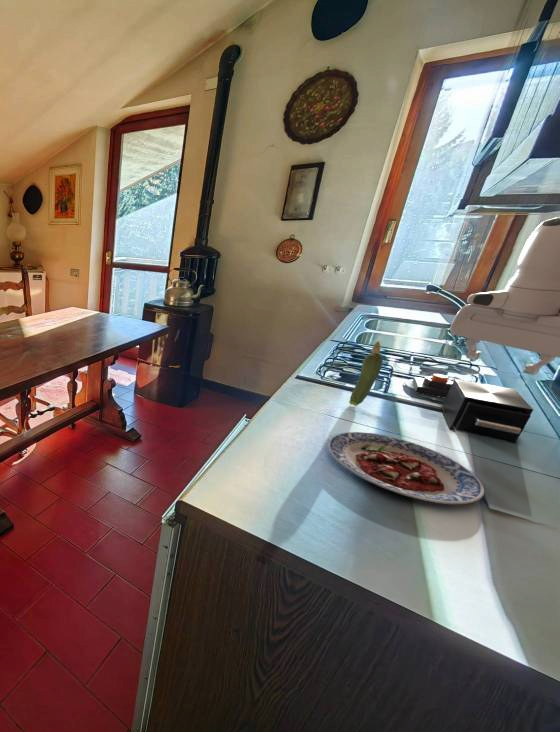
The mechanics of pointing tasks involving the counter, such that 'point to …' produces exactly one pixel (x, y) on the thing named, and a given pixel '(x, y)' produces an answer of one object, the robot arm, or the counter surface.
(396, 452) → the ceramic plate
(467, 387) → the cabinet
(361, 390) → the vegetable
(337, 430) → the counter surface
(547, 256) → the robot arm
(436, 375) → the button
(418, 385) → the control block
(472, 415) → the small drawer unit
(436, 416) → the counter surface
